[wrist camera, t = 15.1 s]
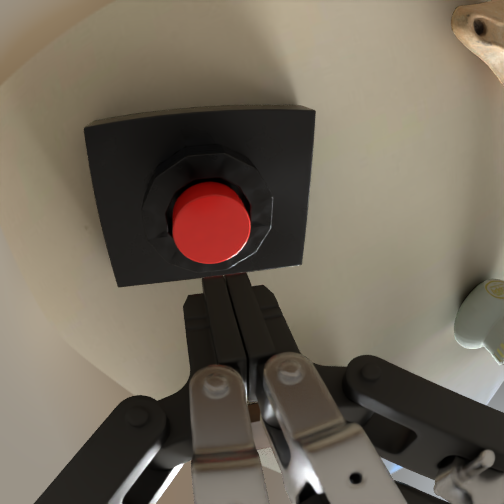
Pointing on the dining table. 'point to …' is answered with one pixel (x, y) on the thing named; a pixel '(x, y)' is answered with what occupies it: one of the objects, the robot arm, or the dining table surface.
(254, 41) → the dining table surface
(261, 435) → the dimmer panel
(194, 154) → the switch block
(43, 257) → the dining table surface
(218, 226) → the light button
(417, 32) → the dining table surface
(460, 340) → the air freshener
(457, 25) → the pottery oil lamp
